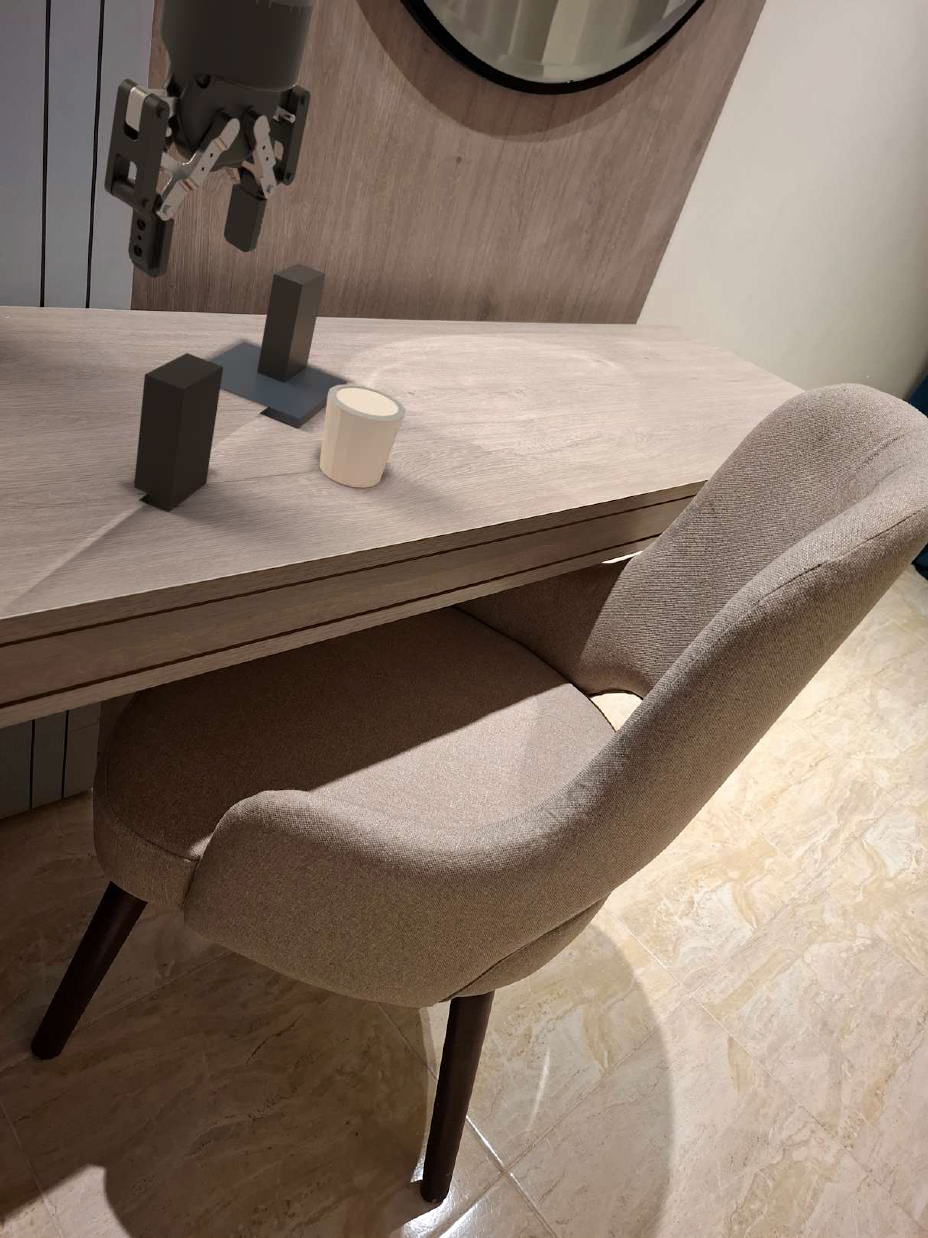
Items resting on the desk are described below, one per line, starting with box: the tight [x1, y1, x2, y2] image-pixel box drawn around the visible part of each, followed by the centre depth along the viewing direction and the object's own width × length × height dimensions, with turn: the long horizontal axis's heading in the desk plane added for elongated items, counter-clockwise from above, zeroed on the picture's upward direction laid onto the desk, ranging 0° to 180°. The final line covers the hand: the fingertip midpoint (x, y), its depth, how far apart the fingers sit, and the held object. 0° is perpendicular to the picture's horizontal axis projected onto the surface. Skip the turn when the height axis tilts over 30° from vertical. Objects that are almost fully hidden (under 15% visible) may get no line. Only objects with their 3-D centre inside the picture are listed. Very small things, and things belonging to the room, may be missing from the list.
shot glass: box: [319, 383, 406, 489], centre depth 80 cm, size 7×7×7 cm
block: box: [133, 352, 223, 513], centre depth 68 cm, size 3×6×10 cm, turn 165°
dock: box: [208, 262, 348, 428], centre depth 89 cm, size 12×13×11 cm
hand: (195, 257), depth 58 cm, fingers open, 8 cm apart
